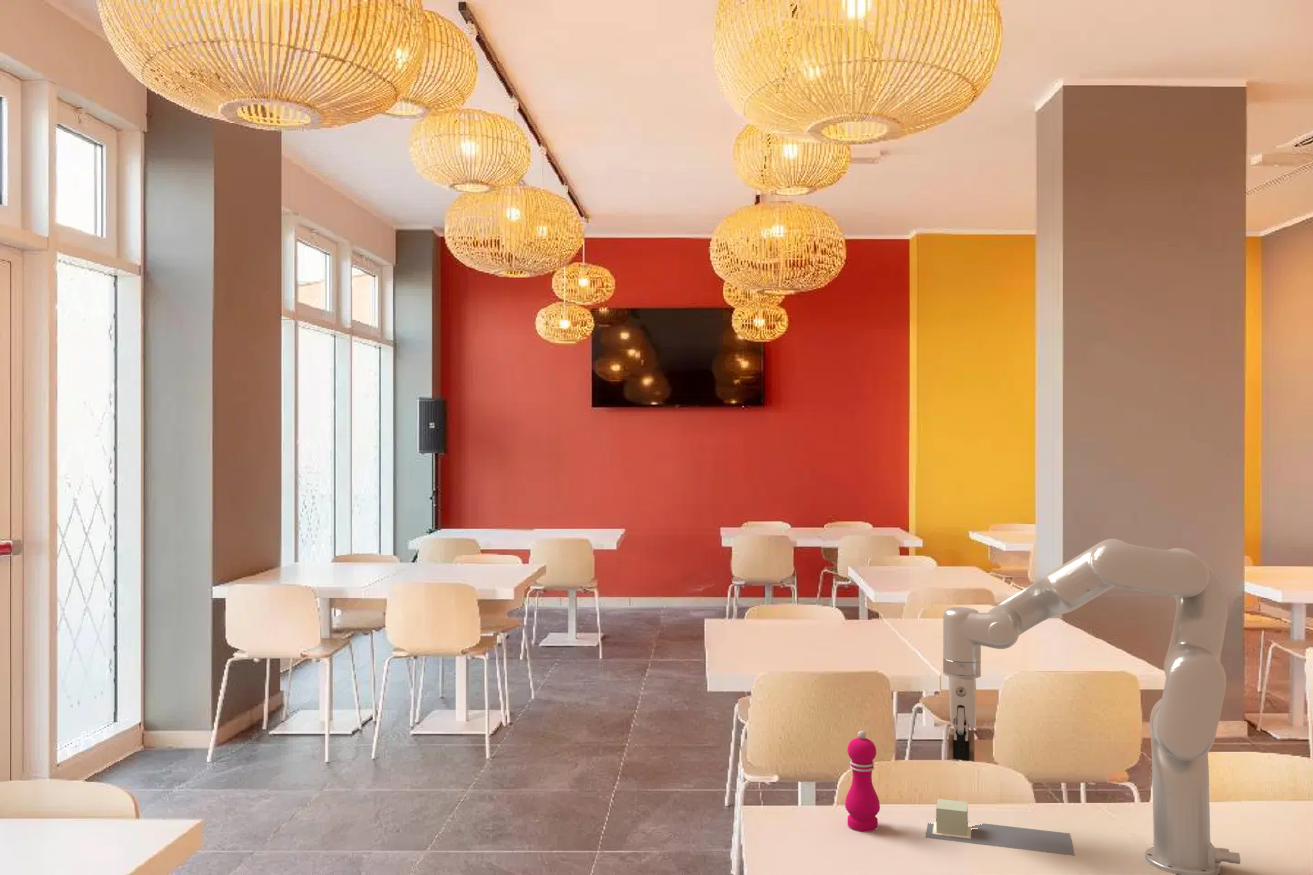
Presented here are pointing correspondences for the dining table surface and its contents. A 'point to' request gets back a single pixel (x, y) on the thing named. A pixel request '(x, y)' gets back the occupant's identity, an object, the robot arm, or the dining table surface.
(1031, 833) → the build mat
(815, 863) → the dining table surface
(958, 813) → the sage block
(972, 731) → the walnut cube
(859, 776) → the pepper mill
